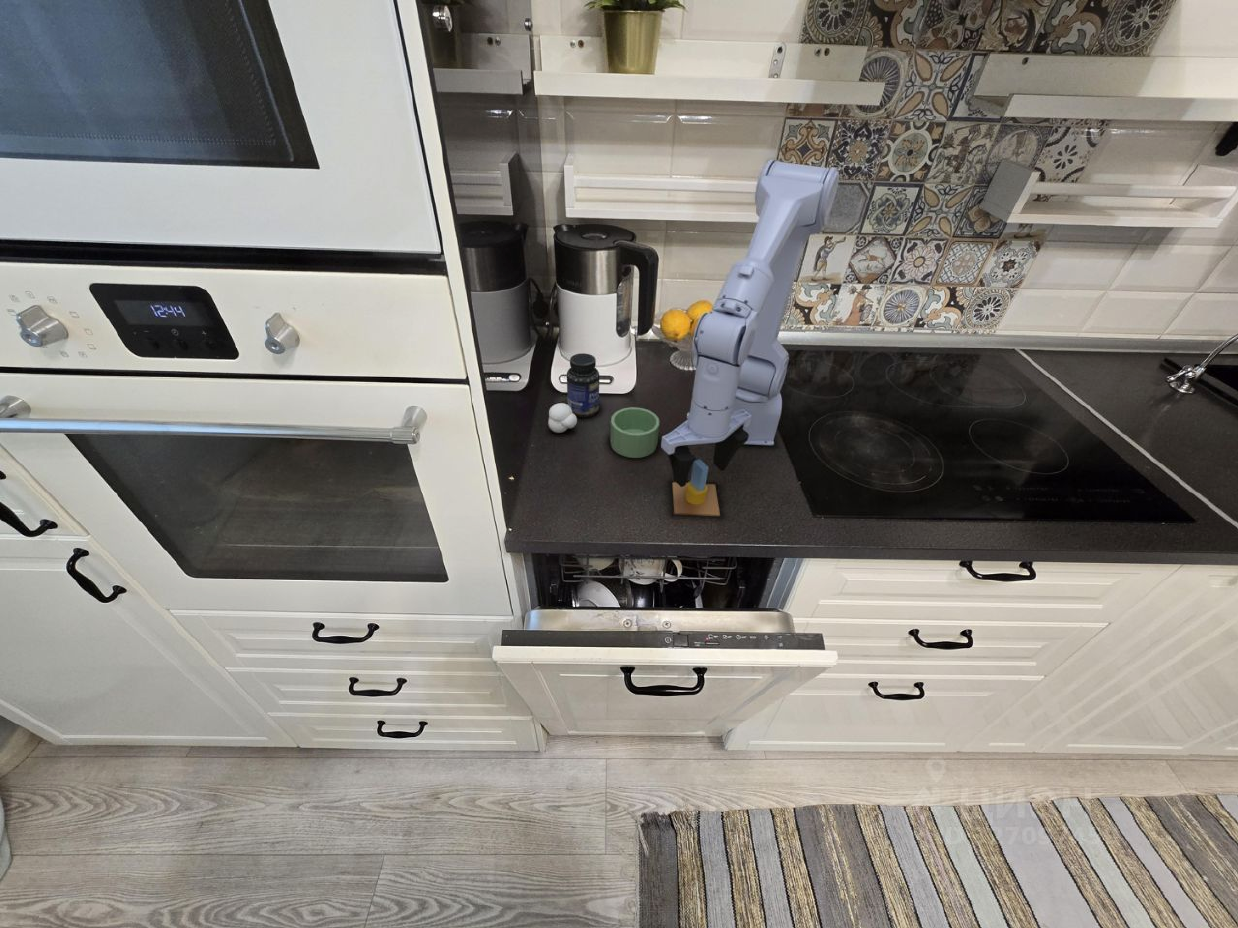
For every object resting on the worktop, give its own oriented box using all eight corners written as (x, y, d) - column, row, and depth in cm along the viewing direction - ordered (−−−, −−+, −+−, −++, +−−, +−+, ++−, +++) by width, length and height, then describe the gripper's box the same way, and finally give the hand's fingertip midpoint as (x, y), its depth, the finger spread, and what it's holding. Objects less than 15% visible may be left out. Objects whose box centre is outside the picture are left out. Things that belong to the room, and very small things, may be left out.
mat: (714, 486, 84) (715, 484, 84) (719, 516, 79) (719, 514, 79) (672, 484, 84) (672, 482, 84) (674, 514, 79) (674, 512, 79)
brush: (697, 488, 83) (703, 455, 79) (709, 500, 81) (716, 467, 77) (681, 495, 82) (686, 461, 77) (693, 507, 80) (699, 473, 75)
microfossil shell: (553, 421, 97) (551, 396, 93) (580, 425, 96) (580, 400, 93) (546, 435, 93) (544, 410, 90) (574, 439, 93) (574, 414, 89)
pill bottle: (594, 420, 98) (594, 369, 90) (563, 416, 98) (561, 365, 91) (602, 403, 102) (602, 353, 95) (572, 399, 103) (571, 349, 96)
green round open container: (656, 430, 96) (658, 408, 92) (657, 459, 89) (659, 436, 86) (611, 428, 96) (612, 406, 93) (609, 456, 89) (610, 433, 86)
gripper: (735, 373, 75) (720, 446, 84) (652, 398, 69) (645, 474, 78) (768, 396, 71) (749, 471, 79) (682, 425, 65) (672, 502, 73)
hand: (699, 474), depth 78 cm, fingers open, 7 cm apart
